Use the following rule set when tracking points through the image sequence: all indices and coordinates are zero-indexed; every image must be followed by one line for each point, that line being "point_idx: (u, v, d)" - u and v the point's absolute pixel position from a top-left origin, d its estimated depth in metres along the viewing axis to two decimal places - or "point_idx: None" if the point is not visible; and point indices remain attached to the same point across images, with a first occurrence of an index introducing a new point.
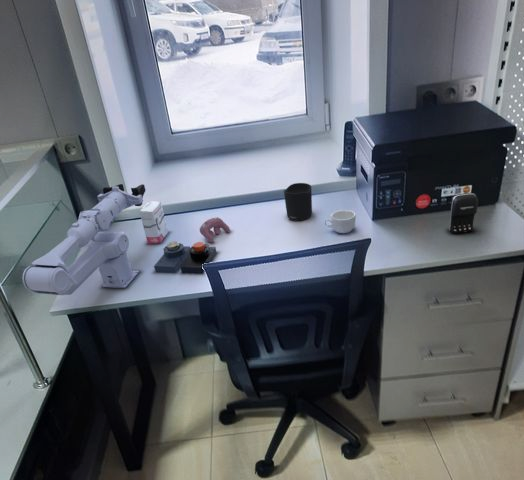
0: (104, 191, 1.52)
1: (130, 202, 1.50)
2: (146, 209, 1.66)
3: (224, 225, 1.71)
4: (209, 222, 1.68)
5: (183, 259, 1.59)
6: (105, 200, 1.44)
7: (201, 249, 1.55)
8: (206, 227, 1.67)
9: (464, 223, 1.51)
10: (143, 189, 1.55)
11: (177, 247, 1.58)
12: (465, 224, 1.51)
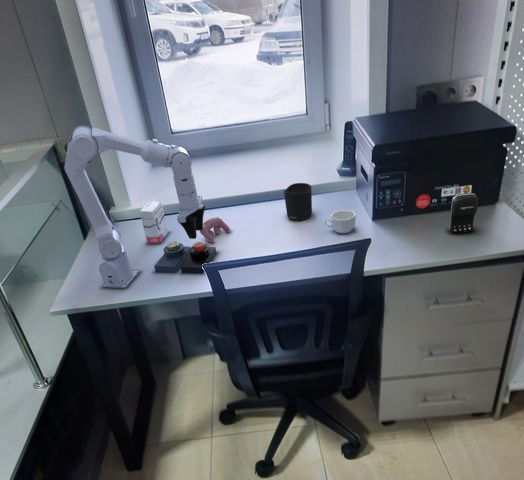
0: None
1: None
2: (146, 209, 1.66)
3: (224, 225, 1.71)
4: (209, 222, 1.68)
5: (183, 259, 1.59)
6: (194, 183, 1.44)
7: (201, 249, 1.55)
8: (206, 227, 1.67)
9: (464, 223, 1.51)
10: (191, 235, 1.51)
11: (177, 247, 1.58)
12: (465, 224, 1.51)
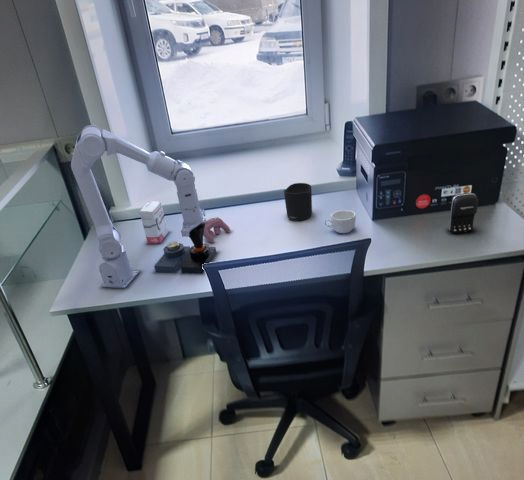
0: (201, 223, 1.53)
1: None
2: (146, 209, 1.66)
3: (224, 225, 1.71)
4: (209, 222, 1.68)
5: (183, 259, 1.59)
6: (197, 198, 1.47)
7: None
8: (206, 227, 1.67)
9: (464, 223, 1.51)
10: (197, 244, 1.55)
11: (177, 247, 1.58)
12: (465, 224, 1.51)
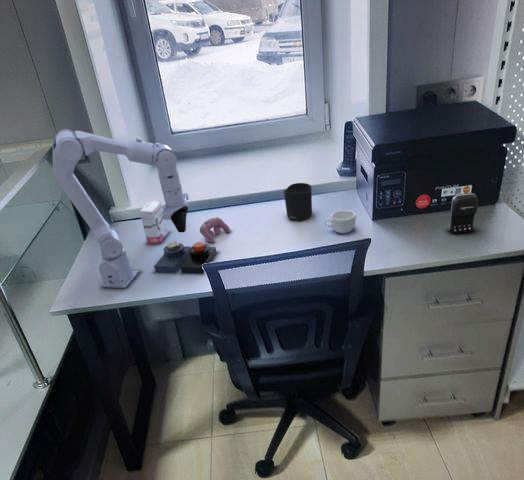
0: (184, 206, 1.51)
1: None
2: (146, 209, 1.66)
3: (224, 225, 1.71)
4: (209, 222, 1.68)
5: (183, 259, 1.59)
6: (179, 180, 1.45)
7: (201, 249, 1.55)
8: (206, 227, 1.67)
9: (464, 223, 1.51)
10: (179, 228, 1.53)
11: (177, 247, 1.58)
12: (465, 224, 1.51)
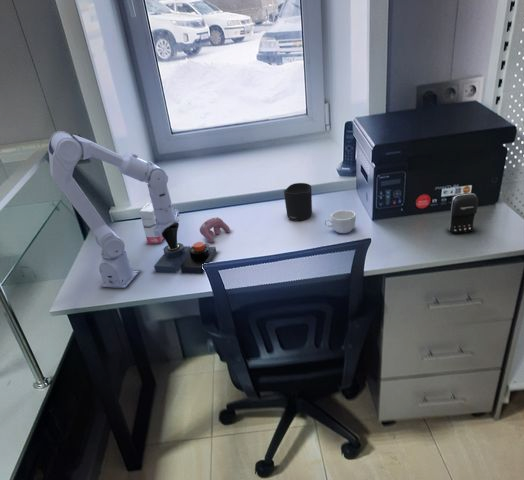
0: (175, 222, 1.56)
1: (159, 226, 1.51)
2: (146, 209, 1.66)
3: (224, 225, 1.71)
4: (209, 222, 1.68)
5: (183, 259, 1.59)
6: None
7: (201, 249, 1.55)
8: (206, 227, 1.67)
9: (464, 223, 1.51)
10: (171, 244, 1.58)
11: None
12: (465, 224, 1.51)
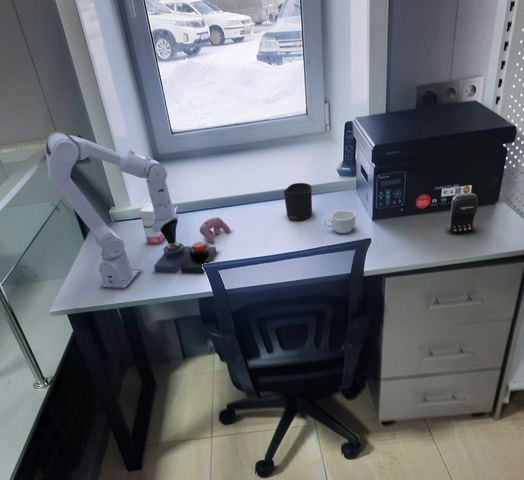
0: (174, 218, 1.55)
1: (157, 222, 1.50)
2: (146, 209, 1.66)
3: (224, 225, 1.71)
4: (209, 222, 1.68)
5: (183, 259, 1.59)
6: None
7: (201, 249, 1.55)
8: (206, 227, 1.67)
9: (464, 223, 1.51)
10: (169, 240, 1.57)
11: (177, 247, 1.58)
12: (465, 224, 1.51)
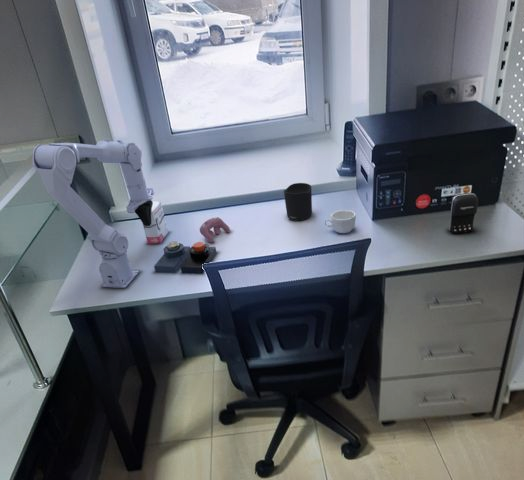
0: (149, 201, 1.57)
1: (132, 203, 1.52)
2: None
3: (224, 225, 1.71)
4: (209, 222, 1.68)
5: (183, 259, 1.59)
6: None
7: (201, 249, 1.55)
8: (206, 227, 1.67)
9: (464, 223, 1.51)
10: (145, 222, 1.59)
11: (177, 247, 1.58)
12: (465, 224, 1.51)
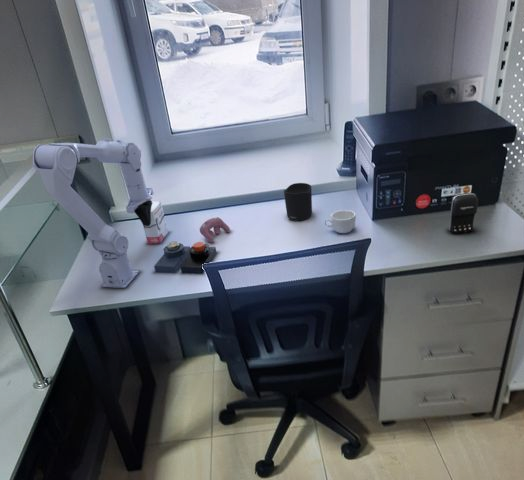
0: (148, 200, 1.57)
1: None
2: None
3: (224, 225, 1.71)
4: (209, 222, 1.68)
5: (183, 259, 1.59)
6: None
7: (201, 249, 1.55)
8: (206, 227, 1.67)
9: (464, 223, 1.51)
10: (144, 222, 1.59)
11: (177, 247, 1.58)
12: (465, 224, 1.51)
